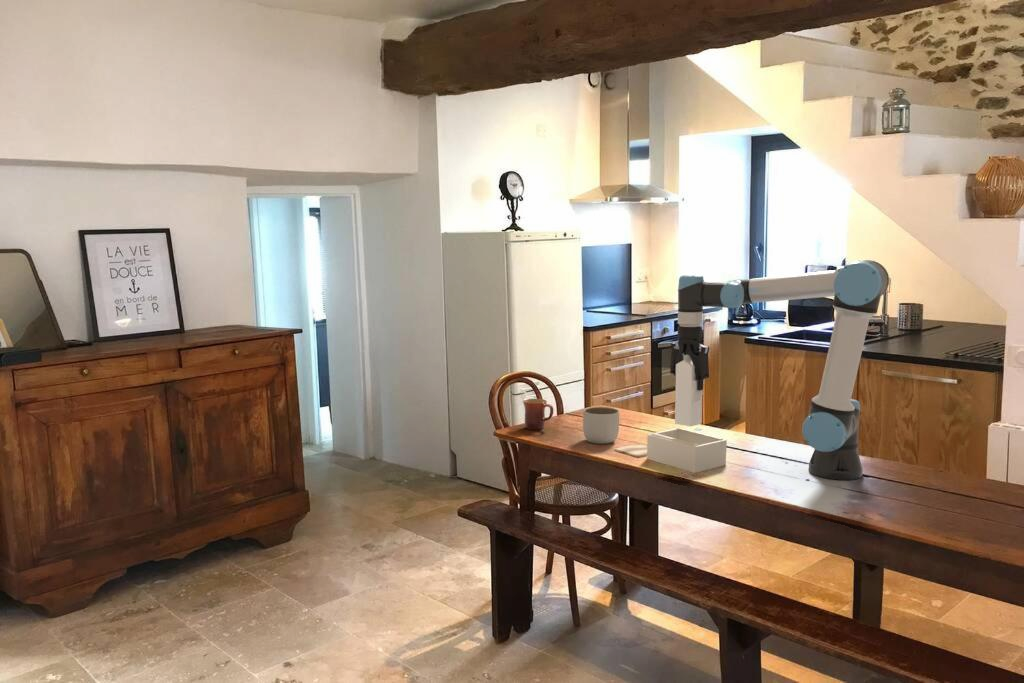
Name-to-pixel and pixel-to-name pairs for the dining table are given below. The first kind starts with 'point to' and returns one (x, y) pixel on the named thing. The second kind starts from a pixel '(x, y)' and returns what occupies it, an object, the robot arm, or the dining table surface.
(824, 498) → the dining table surface
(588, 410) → the planter
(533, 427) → the mug
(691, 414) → the milk
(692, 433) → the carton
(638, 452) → the mat
